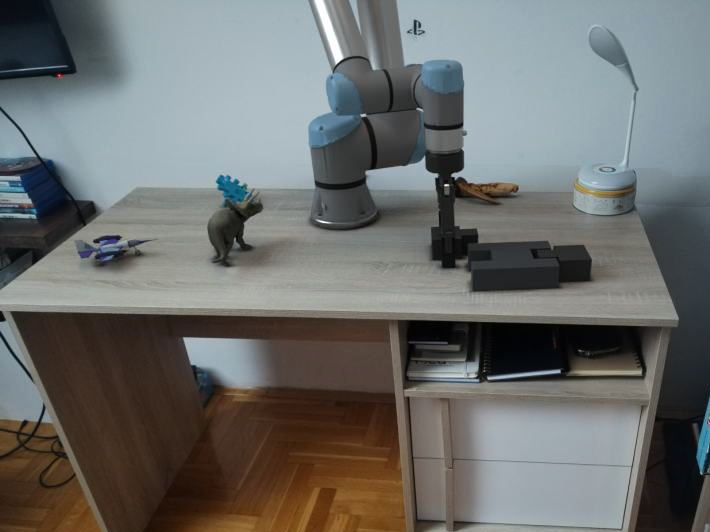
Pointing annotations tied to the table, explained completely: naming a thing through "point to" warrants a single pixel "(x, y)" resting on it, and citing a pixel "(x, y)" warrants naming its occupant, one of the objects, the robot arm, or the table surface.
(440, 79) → the robot arm
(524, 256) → the base tile
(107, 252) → the toy airplane
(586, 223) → the table surface
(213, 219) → the toy dinosaur
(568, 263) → the dark stepped block
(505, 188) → the bone fish hook
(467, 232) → the dark grey t-shaped block
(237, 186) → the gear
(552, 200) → the table surface
